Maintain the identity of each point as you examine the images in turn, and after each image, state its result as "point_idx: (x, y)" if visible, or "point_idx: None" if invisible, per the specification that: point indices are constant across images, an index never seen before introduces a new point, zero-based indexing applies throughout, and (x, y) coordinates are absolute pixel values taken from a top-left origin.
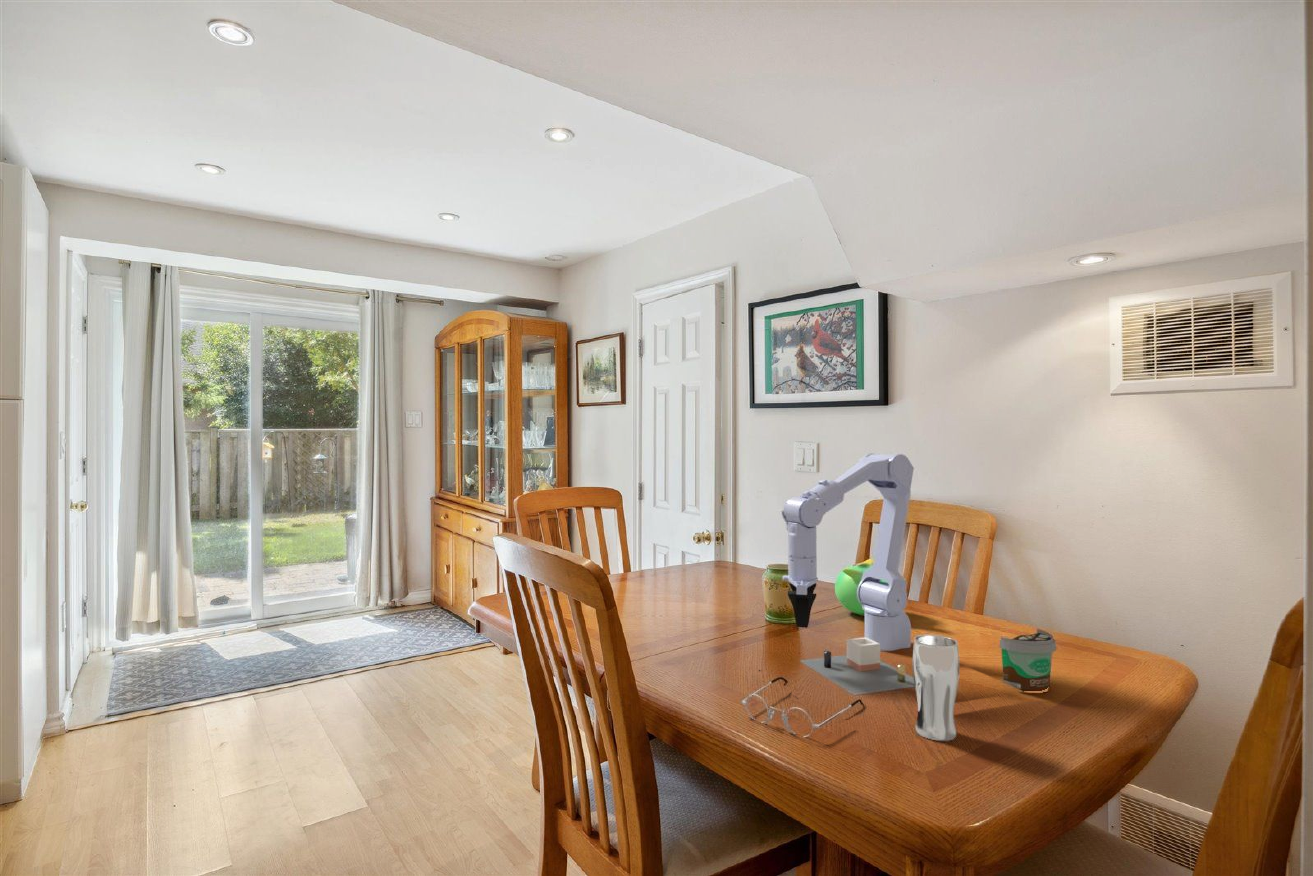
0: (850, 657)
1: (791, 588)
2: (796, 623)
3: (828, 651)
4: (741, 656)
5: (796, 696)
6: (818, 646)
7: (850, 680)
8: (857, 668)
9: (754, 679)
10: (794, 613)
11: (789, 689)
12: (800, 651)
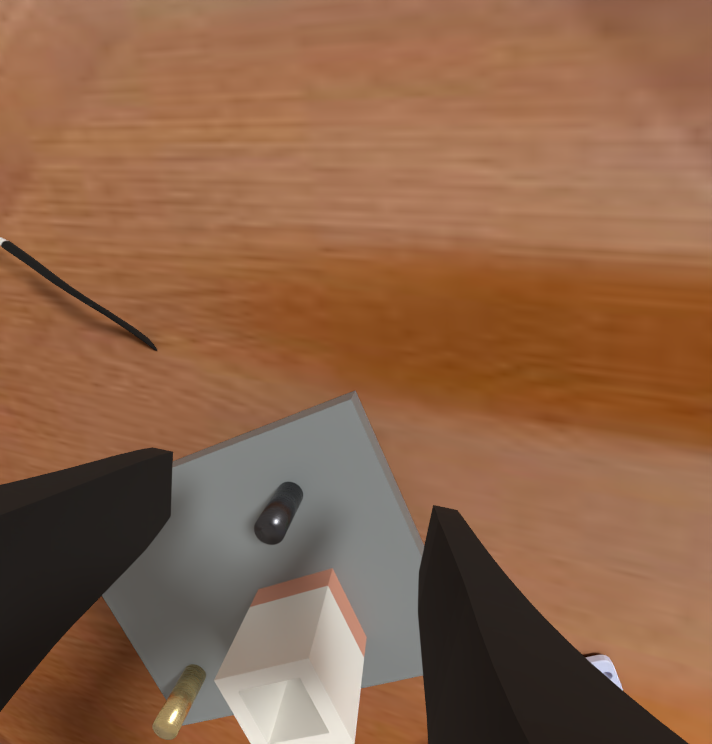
0: (301, 600)
1: (520, 737)
2: (130, 453)
3: (276, 536)
4: (496, 127)
5: (82, 339)
6: (645, 518)
7: (166, 535)
8: (271, 589)
9: (203, 191)
10: (35, 478)
11: (134, 322)
12: (572, 428)
